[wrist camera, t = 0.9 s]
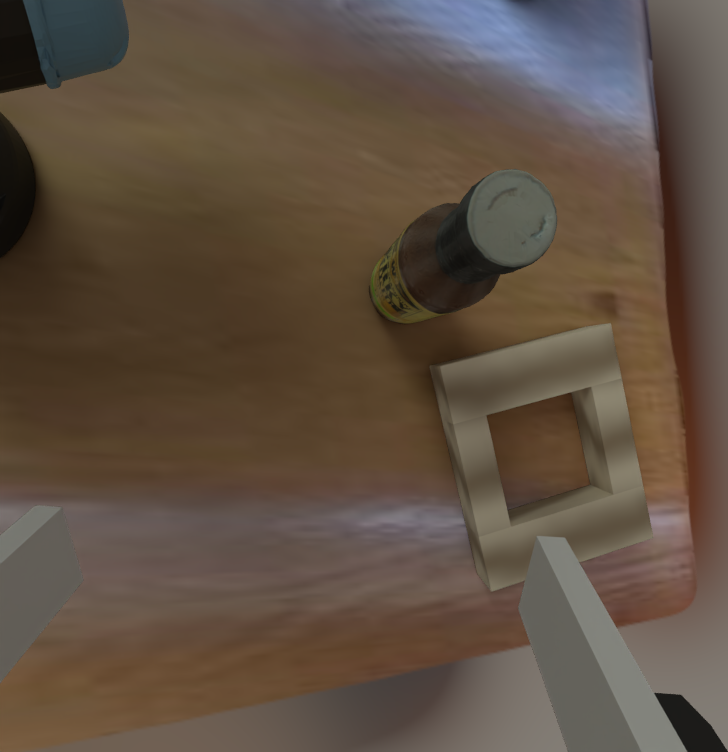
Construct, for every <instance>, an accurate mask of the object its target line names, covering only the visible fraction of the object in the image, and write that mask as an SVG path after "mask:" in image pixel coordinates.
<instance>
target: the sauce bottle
mask: <svg viewBox="0 0 728 752" xmlns="http://www.w3.org/2000/svg"><path fill="white" fill-rule="evenodd" d="M556 226H557V215H556V207H555V204H554V200H553V197H552V195H551V193H550V192H549V190H548V189H547V188H546V186H545V185H544V184H543V183H542V182H541V181H540V180H538V179H536V178H534V177H533V176H532V175H531V174H529V173H527V172H525V171H520V170H516V169H513V170H509V169H507V170H502V171H496V172H494V173H492V174H490V175H488V176H487V177H485V178H483V179H482V180H481V181H479V182H478V183H477V184H476V185H474V186H472V188H471V189H470V190H469V192H468V193H467V194H466V195H465V196H464V198H463V199H462V201H461V202H460V204H457V203H453V204H450V203H447V204H442V205H440V206H437V207H435V208H432V209H430V210H428V211H427V212H425V213H424V214H422V215H421V216H420V217H419V218H417V219H416V220H414V221H413V222H411V223H410V224H409V225H408V226H407V228H406V229H405V230H404V231H403V232H402V234H401V235H400V236H399V237H398V238H397V240H396V241H395V242H394V243H393V245H392V246H391V247H390V248H389V250H388V251H387V252H386V253H385V254H384V256H383V257H382V258H381V259H380V260H379V262H378V263H377V264H376V266H375V268H374V270H373V272H372V275H371V280H370V286H369V294H370V298H371V300H372V302H373V304H374V306H375V308H376V310H377V311H378V313H379V314H380V315H381V316H383V317H384V318H386V319H388V320H390V321H393V322H397V323H400V324H407V323H415V322H419V321H423V320H427V319H430V318H434V317H438V316H441V315H445V314H449V313H453V312H456V311H458V310H461V309H463V308H466V307H469V306H471V305H473V304H475V303H477V302H479V301H480V300H481V299H483V298H484V297H485V296H486V295H487V294H489V293H490V292H491V290H492V289H493V288H494V286H495V285H496V282H497V281H498V278H499V276H500V274H506V273H510V272H514V271H516V270H518V269H521V268H523V267H526V266H528V265H530V264H532V263H534V262H535V261H537V260H538V259H539V258H540V257H541V256H543V254H544V253H545V252H546V251H547V249H548V248H549V246H550V244H551V242H552V241H553V239H554V235H555V231H556Z"/></svg>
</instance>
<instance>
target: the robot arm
mask: <svg viewBox="0 0 728 752" xmlns="http://www.w3.org/2000/svg"><path fill="white" fill-rule="evenodd" d="M128 41H129V30H128V23H127V18H126V14H125V9H124V6H123V2H122V0H0V93H5V92H9V91H14V90H19V89H24V88H29V87H34V86H39V85H44V84H47V86H48V87H49V88H50V89H56V88H58V87H60V86H61V82H62V81H65V80H69V79H73V78H77V77H80V76H84V75H88V74H92V73H96V72H100V71H104V70H107V69H110V68H113V67H114V66H116V65H117V64H119V63H120V62H121V61H122V59H123V58H124V56H125V54H126V51H127V48H128ZM34 198H35V178H34V171H33V166H32V162H31V159H30V156H29V154H28V151H27V149H26V147H25V145H24V143H23V141H22V139H21V137H20V136H19V134H18V133H17V131H16V130H15V128H14V127H13V126H12V124H11V123H10V122H9V121H8V120H7V119H6V117H5V116H4V115H3V114H2V113H1V112H0V258H1V257H2V256H3V255H4V254H6V253H7V252H8V251H9V250H10V249H11V248H12V247H13V245H14V244H15V243H16V242H17V240H18V239H19V238H20V236H21V235H22V233H23V231H24V230H25V228H26V226H27V224H28V221H29V219H30V216H31V213H32V209H33V204H34ZM83 581H84V579H83V576H82V572H81V569H80V565H79V562H78V559H77V555H76V552H75V548H74V545H73V541H72V538H71V535H70V531H69V528H68V524H67V521H66V517H65V514H64V511H63V507H53V506H37V505H35V506H34V507H33V508H32V509H31V510H30V511H28V512H27V513H26V514H25V515H24V516H22V517H21V518H20V519H19V520H18V521H16V522H15V523H14V524H13V525H12V526H10V527H9V528H8V529H7V530H6V531H4V532H3V533H2V534H1V535H0V683H1V681H2V680H3V679H4V678H5V676H6V675H7V674H8V673H9V672H10V670H11V669H12V668H13V667H14V665H15V664H16V663H17V662H18V660H19V659H20V658H21V657H22V656H23V654H24V653H25V652H26V651H27V649H28V648H29V647H30V646H31V644H32V643H33V642H34V641H35V640H36V638H37V637H38V636H39V635H40V633H41V632H42V631H43V630H44V629H45V627H46V626H47V625H48V624H49V622H50V621H51V620H52V619H53V617H54V616H55V615H56V614H57V613H58V611H59V610H60V609H61V608H62V606H63V605H64V604H65V603H66V602H67V600H68V599H69V598H70V597H71V595H72V594H73V593H74V592H75V590H76V589H77V588H78V587H79V586H80V584H81V583H82V582H83ZM518 609H519V612H520V615H521V618H522V621H523V624H524V627H525V630H526V632H527V635H528V638H529V641H530V644H531V647H532V650H533V652H534V655H535V658H536V661H537V664H538V667H539V670H540V673H541V675H542V678H543V681H544V684H545V687H546V689H547V692H548V695H549V698H550V701H551V704H552V707H553V710H554V713H555V715H556V718H557V721H558V724H559V727H560V730H561V733H562V735H563V738H564V741H565V744H566V747H567V750H568V752H728V751H727V750H726V748H725V747H724V745H723V743H722V742H721V740H720V739H719V737H718V736H717V734H716V733H715V731H714V730H713V728H712V726H711V725H710V724H709V723H708V722H707V721H706V720H705V719H704V718H703V717H702V716H701V715H700V714H699V713H698V712H697V711H696V710H695V709H694V708H693V707H692V706H691V705H690V704H689V702H687V701H686V700H685V699H684V697H683V696H681V695H676V694H662V693H653V691H652V689H651V687H650V686H649V684H648V682H647V680H646V679H645V677H644V675H643V673H642V672H641V670H640V668H639V666H638V665H637V663H636V661H635V659H634V658H633V656H632V654H631V652H630V651H629V649H628V647H627V645H626V644H625V642H624V640H623V638H622V637H621V635H620V633H619V631H618V630H617V628H616V626H615V624H614V623H613V621H612V619H611V617H610V616H609V614H608V612H607V610H606V609H605V607H604V605H603V603H602V601H601V600H600V598H599V596H598V594H597V593H596V591H595V589H594V587H593V586H592V584H591V582H590V580H589V579H588V577H587V575H586V573H585V572H584V570H583V568H582V566H581V565H580V563H579V561H578V559H577V558H576V556H575V554H574V552H573V551H572V549H571V547H570V545H569V544H568V542H567V540H566V538H564V537H548V536H536V540H535V544H534V548H533V552H532V556H531V560H530V564H529V567H528V571H527V575H526V579H525V583H524V587H523V591H522V595H521V599H520V603H519V607H518Z"/></svg>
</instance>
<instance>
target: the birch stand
mask: <svg viewBox="0 0 728 752" xmlns="http://www.w3.org/2000/svg"><path fill="white" fill-rule="evenodd" d="M429 367H430V371H431V376H432V380H433V384H434V389H435V393H436V398H437V402H438V406H439V411H440V415H441V419H442V424H443V428H444V432H445V437H446V441H447V445H448V450H449V454H450V458H451V463H452V467H453V471H454V476H455V480H456V485H457V489H458V493H459V498H460V502H461V506H462V511H463V515H464V519H465V524H466V528H467V532H468V537H469V541H470V545H471V550H472V554H473V559H474V563H475V567H476V572H477V574H478V576H479V577H480V578H481V579H482V581H483V582H484V583H485V584H486V586H487V587H488V588H489V589H490V591H491V592H492V591H495V590H498V589H501V588H504V587H507V586H510V585H513V584H516V583H519V582H522V581H525V579H526V575H527V571H528V567H529V564H530V560H531V556H532V552H533V548H534V544H535V540H536V536H548V537H564V538H566V540H567V542H568V544H569V545H570V547H571V549H572V551H573V552H574V554H575V556H576V558H577V559H578V561H579V563H580V562H583V561H586V560H589V559H592V558H595V557H598V556H601V555H604V554H607V553H610V552H613V551H616V550H619V549H622V548H625V547H628V546H631V545H634V544H637V543H640V542H643V541H646V540H649V539H652V538H653V533H652V528H651V523H650V518H649V513H648V508H647V503H646V498H645V493H644V488H643V483H642V478H641V473H640V468H639V463H638V458H637V453H636V448H635V443H634V438H633V433H632V428H631V423H630V418H629V413H628V408H627V403H626V398H625V393H624V388H623V383H622V378H621V373H620V368H619V363H618V358H617V353H616V348H615V343H614V338H613V333H612V328H611V323H609V324H601V325H594V326H587V327H583V328H579V329H575V330H571V331H567V332H563V333H559V334H555V335H551V336H547V337H543V338H539V339H535V340H531V341H527V342H523V343H519V344H515V345H511V346H507V347H503V348H499V349H495V350H491V351H487V352H483V353H479V354H475V355H471V356H467V357H463V358H459V359H455V360H451V361H447V362H443V363H439V364H435V365H431V366H429ZM570 392H571V394H572V399H573V403H574V408H575V413H576V418H577V423H578V427H579V432H580V437H581V442H582V447H583V452H584V456H585V461H586V466H587V471H588V476H589V480H590V485H588V486H585V487H582V488H579V489H575V490H572V491H569V492H565V493H562V494H559V495H556V496H552V497H549V498H546V499H543V500H539V501H536V502H533V503H530V504H526V505H523V506H520V507H517V508H513V509H510V510H507V506H506V502H505V497H504V493H503V488H502V484H501V479H500V475H499V470H498V466H497V461H496V457H495V452H494V448H493V443H492V439H491V434H490V430H489V425H488V421H487V416H486V415H489V414H493V413H496V412H500V411H504V410H507V409H511V408H515V407H518V406H522V405H526V404H529V403H533V402H537V401H540V400H544V399H548V398H551V397H555V396H559V395H562V394H566V393H570Z"/></svg>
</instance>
